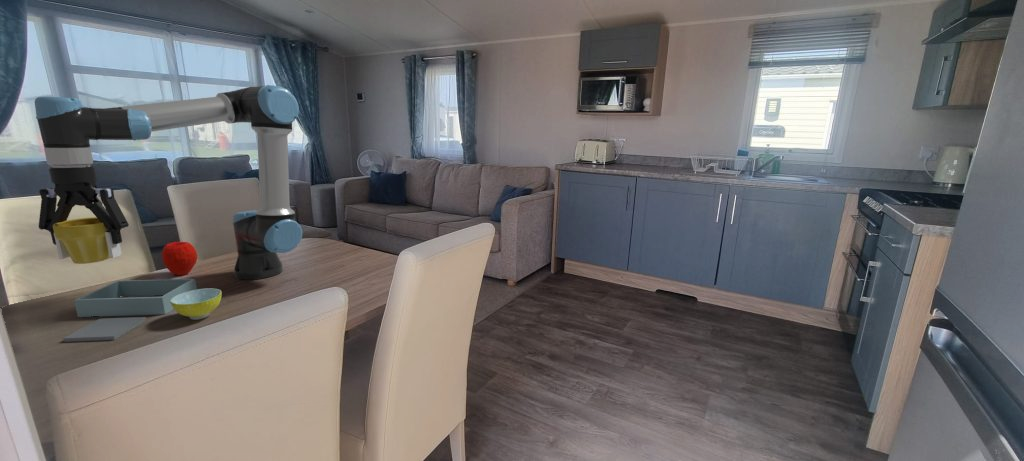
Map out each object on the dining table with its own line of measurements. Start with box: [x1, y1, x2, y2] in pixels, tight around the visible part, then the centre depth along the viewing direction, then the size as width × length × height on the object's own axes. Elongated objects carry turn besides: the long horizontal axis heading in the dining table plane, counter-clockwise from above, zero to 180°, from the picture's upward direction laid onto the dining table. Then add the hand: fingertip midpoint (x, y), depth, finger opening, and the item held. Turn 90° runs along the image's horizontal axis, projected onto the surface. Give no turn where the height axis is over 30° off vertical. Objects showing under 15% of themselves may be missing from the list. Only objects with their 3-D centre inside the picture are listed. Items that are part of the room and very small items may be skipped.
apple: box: [161, 240, 198, 276], centre depth 148 cm, size 10×10×12 cm
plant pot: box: [53, 216, 111, 265], centre depth 102 cm, size 10×10×10 cm
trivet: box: [62, 316, 147, 343], centre depth 107 cm, size 11×11×1 cm
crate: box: [73, 278, 198, 318], centre depth 123 cm, size 22×15×5 cm
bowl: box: [171, 287, 223, 321], centre depth 116 cm, size 11×12×6 cm
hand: (91, 256), depth 103 cm, fingers closed on plant pot, 10 cm apart
